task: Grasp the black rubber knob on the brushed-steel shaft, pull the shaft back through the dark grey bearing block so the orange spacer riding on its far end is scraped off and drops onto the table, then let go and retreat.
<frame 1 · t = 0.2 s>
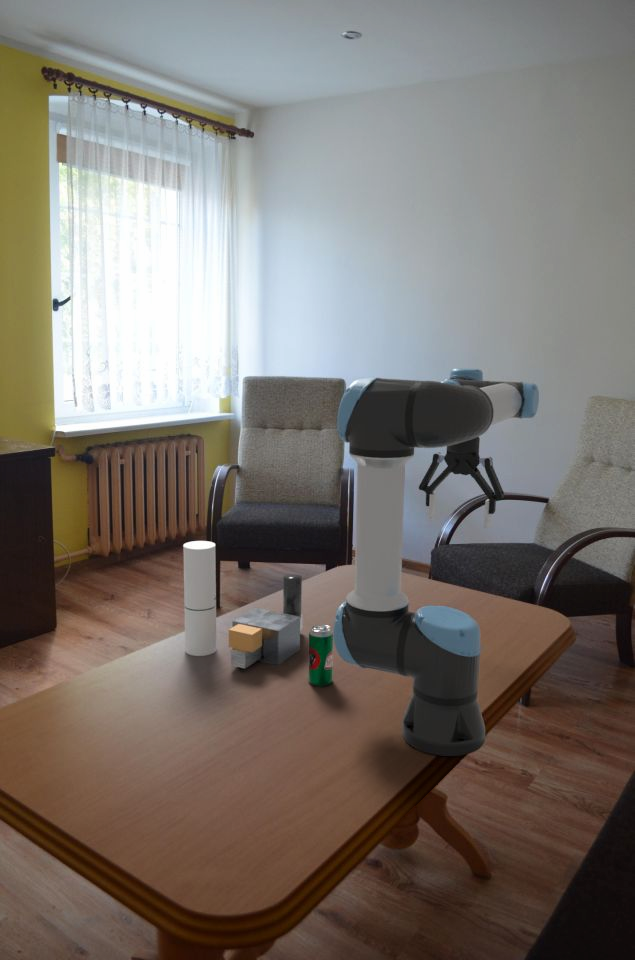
hand: (459, 523, 191), 28 cm above the table, fingers open, 13 cm apart
shaft: (269, 618, 183), point 8 cm above the table, slide at 0.0 cm, touching spacer
bearing block: (266, 651, 183), on the table
cylindrical container: (200, 650, 184), on the table
spacer: (245, 646, 175), point 5 cm above the table, touching shaft
soda can: (320, 682, 168), on the table
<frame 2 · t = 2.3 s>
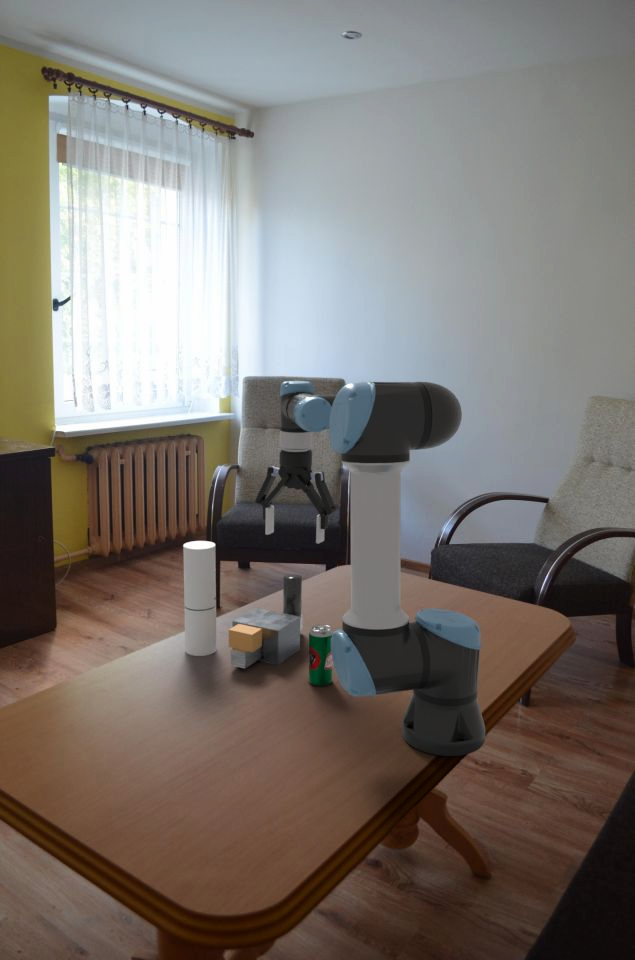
hand: (294, 537, 188), 25 cm above the table, fingers open, 13 cm apart
nothing on the table moved.
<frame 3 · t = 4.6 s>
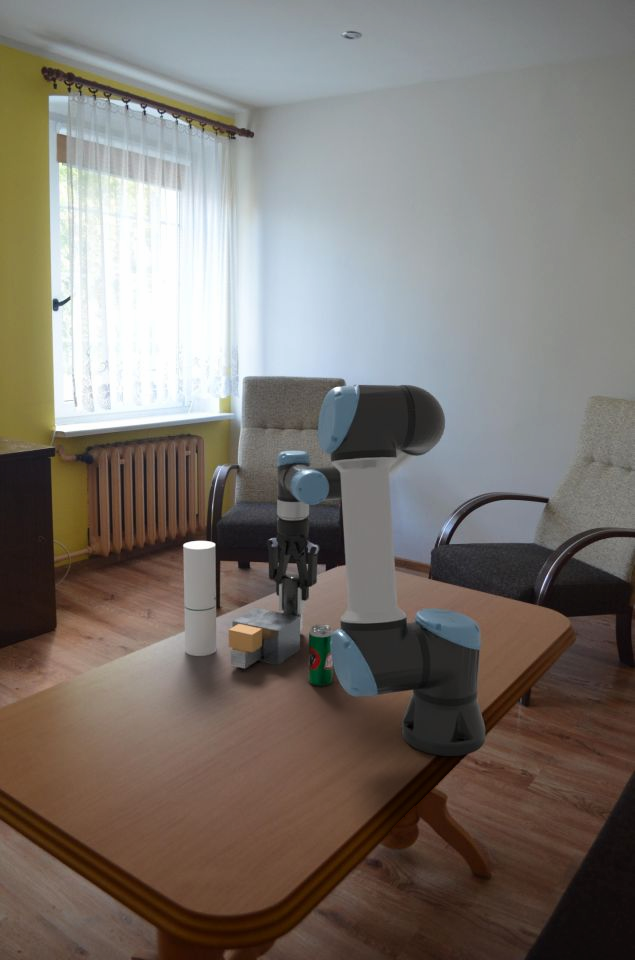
hand: (292, 610, 193), 6 cm above the table, fingers closed on shaft, 4 cm apart
shaft: (269, 618, 183), point 8 cm above the table, slide at 0.0 cm, touching gripper, spacer
everything else where it was.
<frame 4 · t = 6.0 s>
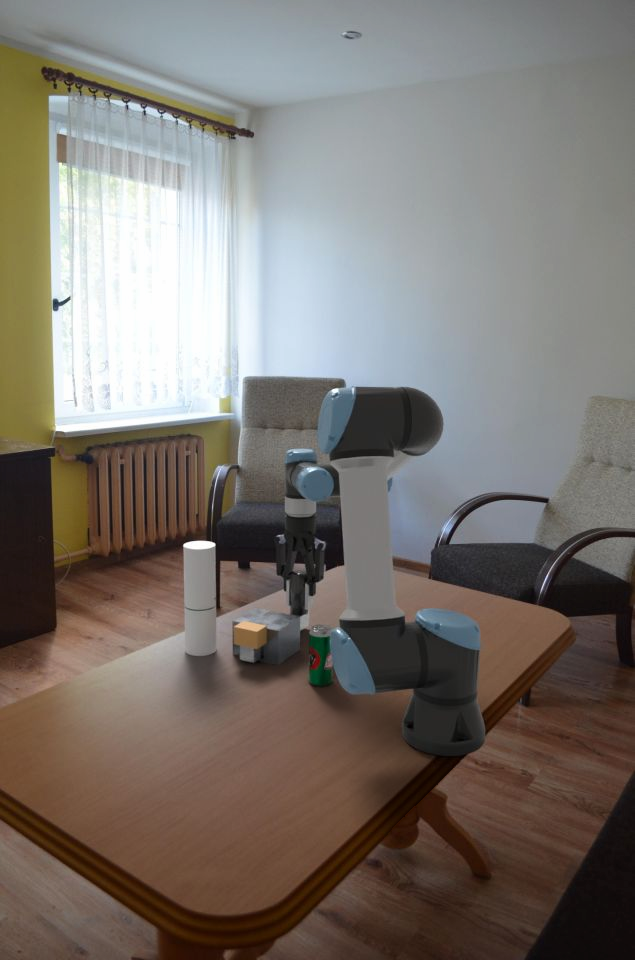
hand: (299, 605, 196), 6 cm above the table, fingers closed on shaft, 4 cm apart
shaft: (276, 613, 186), point 8 cm above the table, slide at 3.6 cm, touching gripper, spacer
spacer: (250, 643, 176), point 5 cm above the table, touching bearing block, shaft
everything else where it was.
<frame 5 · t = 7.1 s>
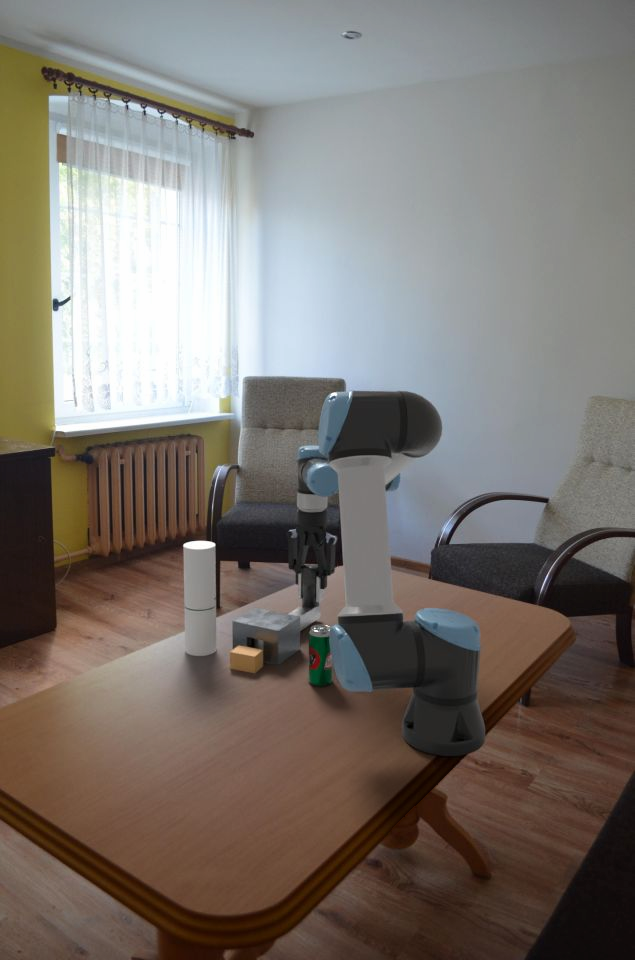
hand: (311, 598, 201), 6 cm above the table, fingers closed on shaft, 4 cm apart
shaft: (289, 605, 191), point 8 cm above the table, slide at 9.6 cm, touching gripper
spacer: (250, 656, 177), point 2 cm above the table, tilted 90°
everything else where it was.
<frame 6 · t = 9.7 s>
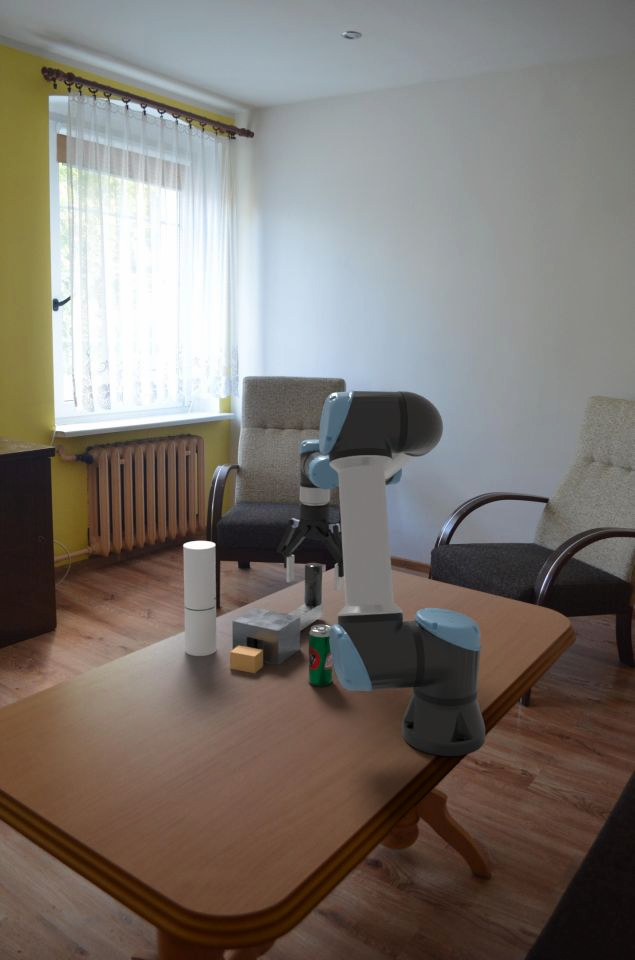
hand: (313, 584, 201), 10 cm above the table, fingers open, 13 cm apart
shaft: (292, 604, 192), point 8 cm above the table, slide at 10.9 cm
everything else where it was.
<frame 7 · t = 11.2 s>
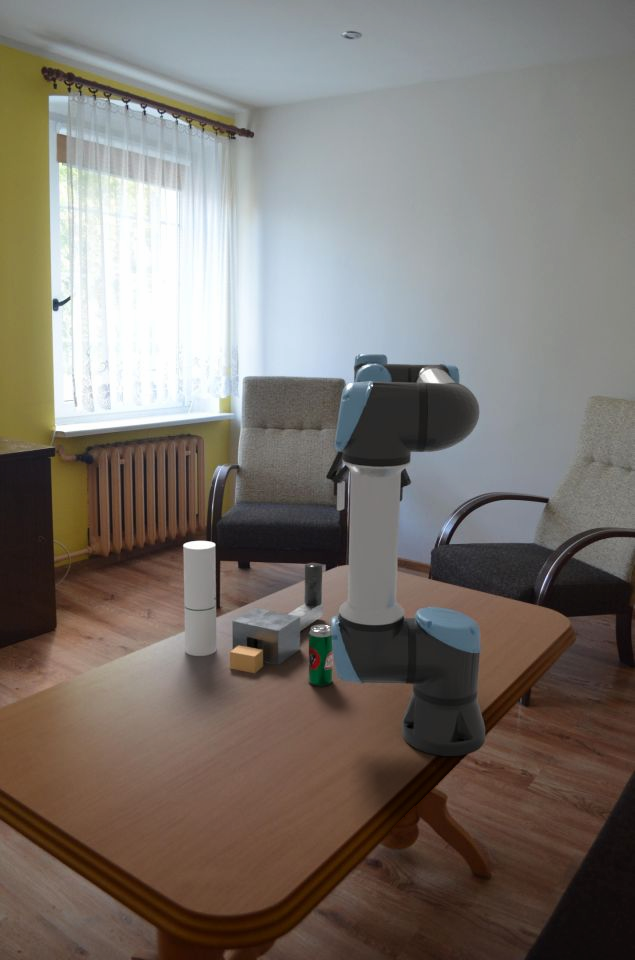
hand: (367, 512, 187), 31 cm above the table, fingers open, 13 cm apart
nothing on the table moved.
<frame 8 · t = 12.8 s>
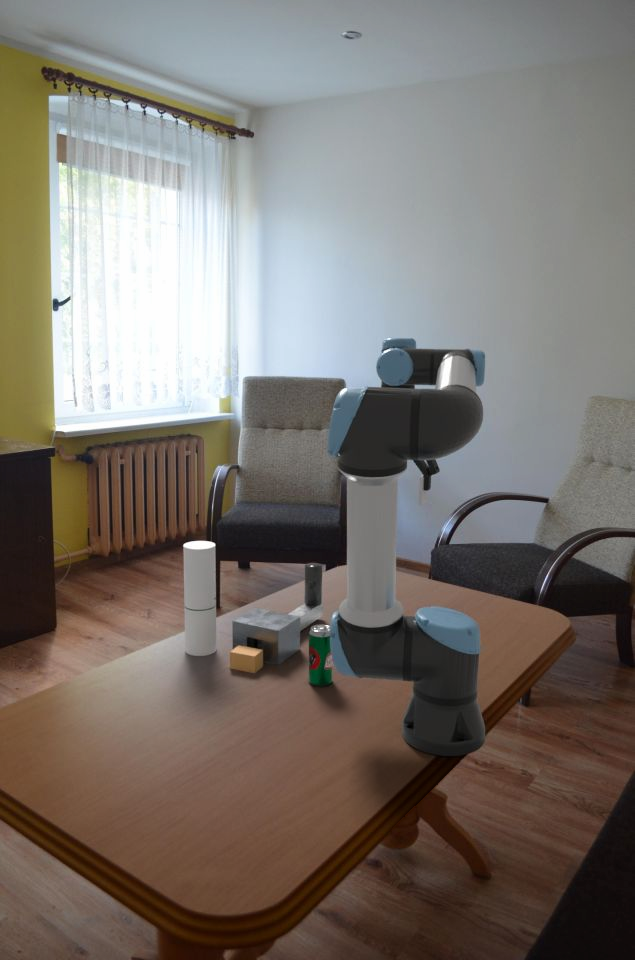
hand: (394, 501, 182), 35 cm above the table, fingers open, 13 cm apart
nothing on the table moved.
at the end: shaft slide at 10.9 cm; spacer inside the target area (3.7 cm from its centre), point 1.8 cm above the table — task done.
